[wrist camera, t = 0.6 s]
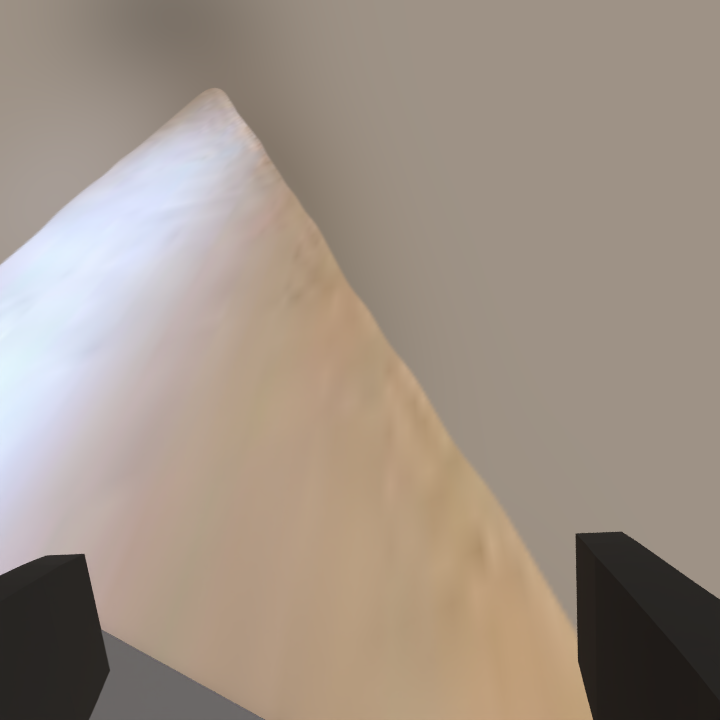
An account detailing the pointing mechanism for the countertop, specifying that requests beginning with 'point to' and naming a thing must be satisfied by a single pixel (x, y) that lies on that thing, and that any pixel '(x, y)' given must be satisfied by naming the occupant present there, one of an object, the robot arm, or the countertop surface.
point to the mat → (156, 691)
